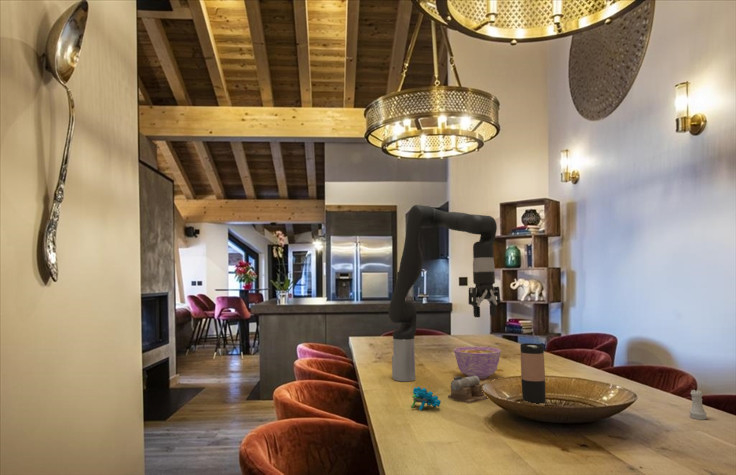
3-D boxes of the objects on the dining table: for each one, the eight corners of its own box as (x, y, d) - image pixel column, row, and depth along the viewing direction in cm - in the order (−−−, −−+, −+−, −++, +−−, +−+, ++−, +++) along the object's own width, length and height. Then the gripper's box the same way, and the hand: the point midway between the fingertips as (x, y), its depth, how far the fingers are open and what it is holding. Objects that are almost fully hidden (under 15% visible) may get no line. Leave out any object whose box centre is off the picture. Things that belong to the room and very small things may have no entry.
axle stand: (466, 404, 161) (465, 379, 162) (445, 398, 169) (444, 375, 170) (488, 398, 168) (487, 375, 169) (467, 393, 176) (466, 371, 177)
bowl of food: (465, 370, 219) (465, 345, 220) (508, 375, 207) (507, 348, 208) (446, 378, 203) (445, 350, 204) (491, 384, 191) (490, 354, 192)
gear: (447, 404, 155) (429, 385, 152) (440, 420, 152) (421, 401, 149) (424, 402, 164) (407, 384, 161) (417, 417, 161) (398, 399, 158)
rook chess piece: (704, 416, 144) (702, 389, 145) (709, 420, 140) (707, 393, 141) (687, 415, 146) (685, 388, 147) (691, 419, 142) (690, 392, 142)
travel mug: (528, 400, 165) (526, 342, 166) (550, 404, 159) (547, 344, 161) (518, 405, 159) (515, 345, 161) (539, 409, 154) (537, 347, 156)
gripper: (488, 270, 176) (490, 314, 175) (462, 270, 168) (463, 317, 166) (505, 270, 170) (506, 316, 169) (478, 270, 162) (480, 318, 160)
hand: (485, 316), depth 168 cm, fingers open, 8 cm apart
